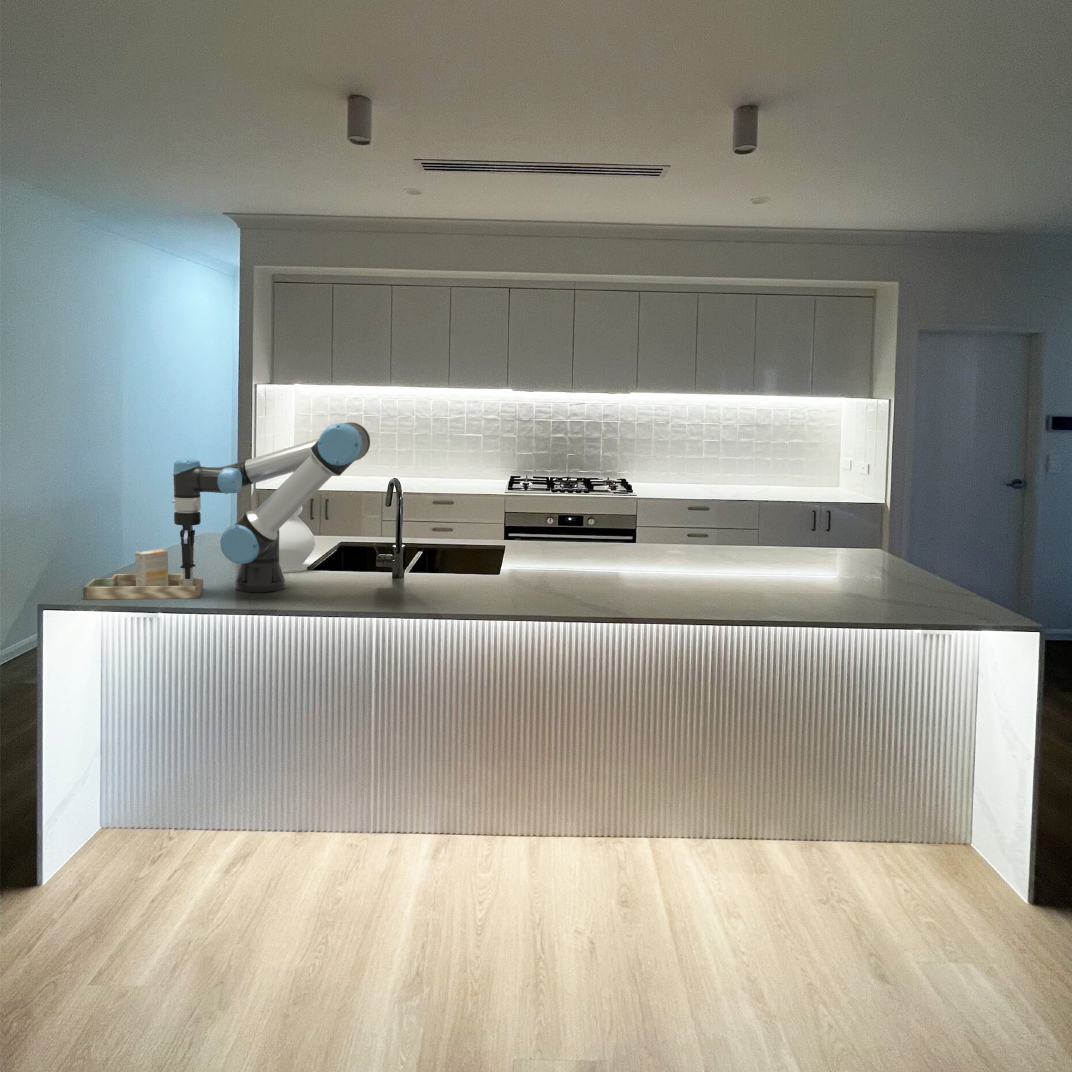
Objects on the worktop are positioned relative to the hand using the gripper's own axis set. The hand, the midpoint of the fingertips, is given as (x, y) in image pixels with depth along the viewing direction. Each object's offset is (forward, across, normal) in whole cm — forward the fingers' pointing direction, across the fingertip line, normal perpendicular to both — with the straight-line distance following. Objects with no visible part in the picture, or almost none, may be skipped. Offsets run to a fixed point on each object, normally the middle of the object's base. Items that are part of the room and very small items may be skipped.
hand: (188, 588), depth 324 cm
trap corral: (+2, -3, -12) cm, 13 cm away
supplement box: (+2, 0, -10) cm, 10 cm away
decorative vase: (+2, -41, +29) cm, 50 cm away
